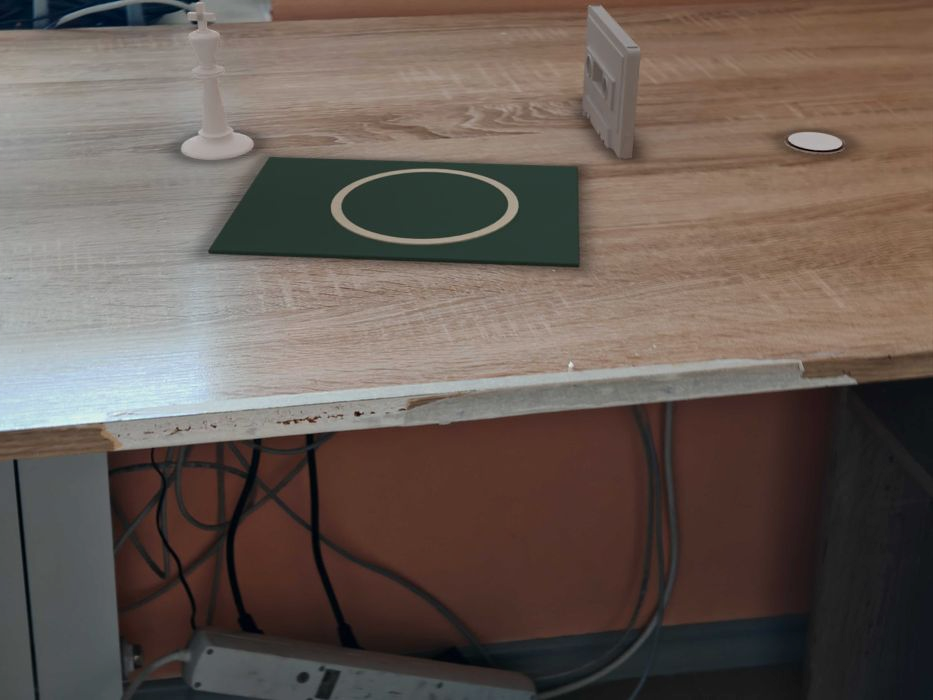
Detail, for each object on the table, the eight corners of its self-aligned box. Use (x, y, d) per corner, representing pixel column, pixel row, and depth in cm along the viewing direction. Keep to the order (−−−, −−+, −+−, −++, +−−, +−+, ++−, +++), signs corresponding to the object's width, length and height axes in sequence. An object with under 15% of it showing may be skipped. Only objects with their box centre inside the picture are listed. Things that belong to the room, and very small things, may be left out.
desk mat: (209, 263, 59) (207, 247, 58) (270, 167, 71) (268, 154, 70) (578, 277, 57) (579, 261, 57) (577, 177, 69) (577, 163, 69)
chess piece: (196, 140, 75) (176, -8, 70) (265, 143, 74) (250, -5, 69) (169, 166, 71) (146, 11, 66) (242, 170, 70) (224, 13, 65)
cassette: (639, 166, 71) (649, 49, 67) (611, 167, 71) (620, 50, 67) (599, 107, 81) (606, 3, 77) (575, 108, 81) (580, 3, 77)
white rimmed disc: (771, 148, 73) (772, 139, 73) (805, 135, 76) (807, 126, 75) (822, 165, 71) (823, 156, 71) (856, 151, 73) (857, 142, 73)
